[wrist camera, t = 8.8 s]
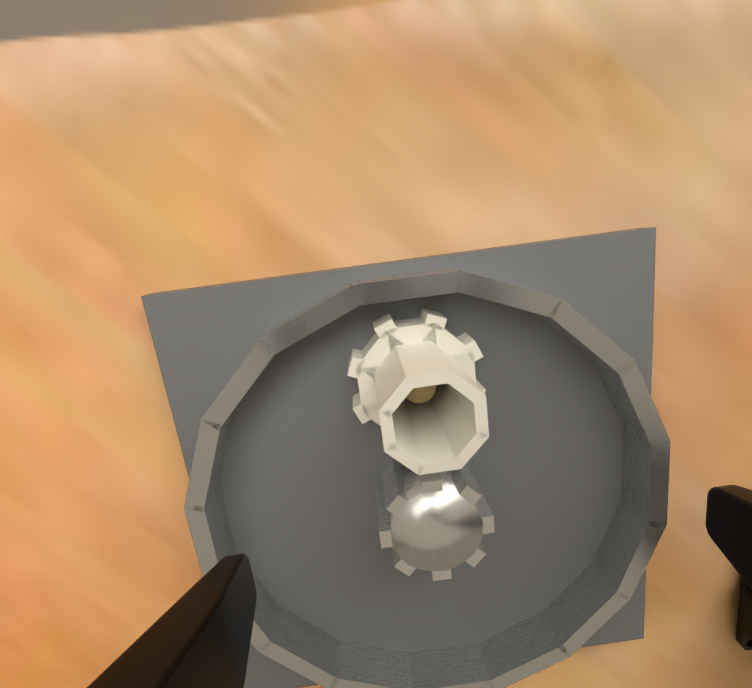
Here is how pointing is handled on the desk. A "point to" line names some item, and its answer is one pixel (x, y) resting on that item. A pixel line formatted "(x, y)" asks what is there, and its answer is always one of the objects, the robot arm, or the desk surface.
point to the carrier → (367, 459)
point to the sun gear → (432, 519)
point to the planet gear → (420, 369)
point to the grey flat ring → (519, 642)
